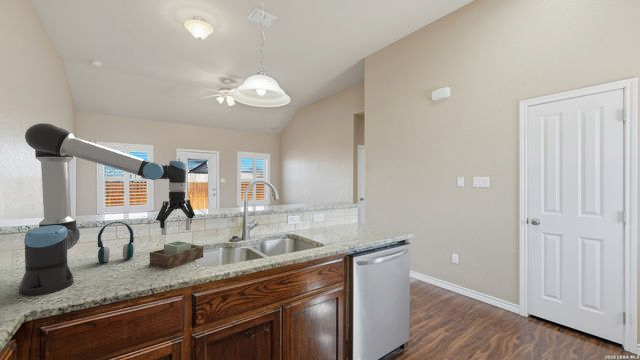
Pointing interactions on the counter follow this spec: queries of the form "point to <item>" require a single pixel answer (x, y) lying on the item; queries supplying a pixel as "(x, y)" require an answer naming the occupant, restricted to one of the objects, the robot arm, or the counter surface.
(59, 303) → the counter surface
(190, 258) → the big crate
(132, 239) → the headphones
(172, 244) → the small crate
